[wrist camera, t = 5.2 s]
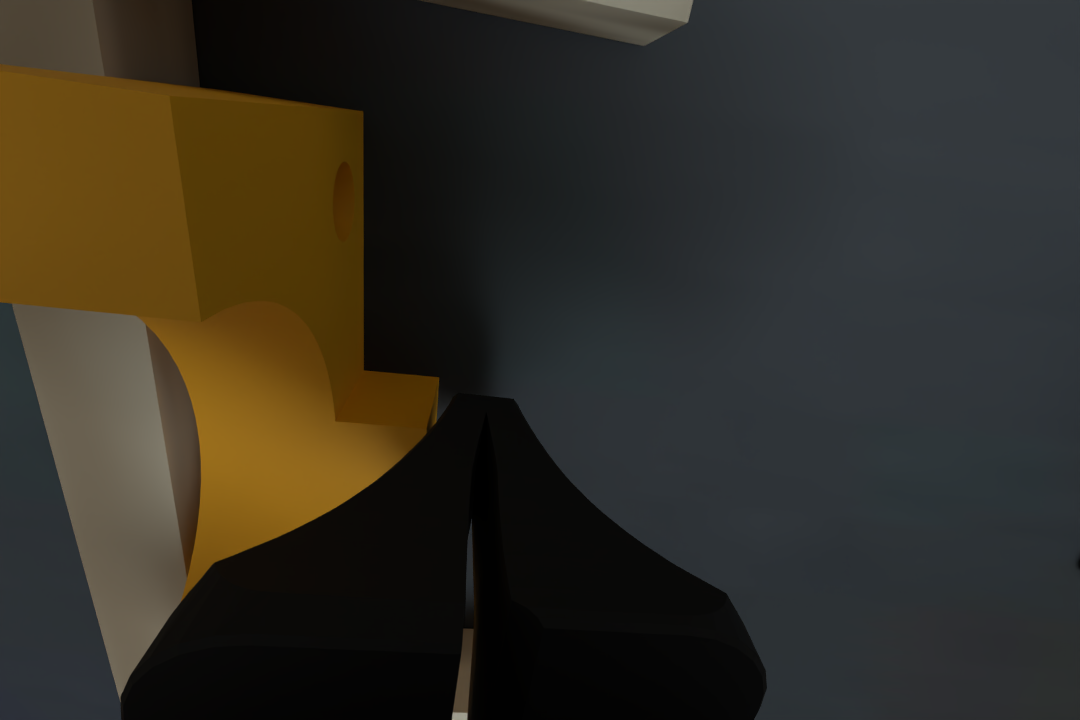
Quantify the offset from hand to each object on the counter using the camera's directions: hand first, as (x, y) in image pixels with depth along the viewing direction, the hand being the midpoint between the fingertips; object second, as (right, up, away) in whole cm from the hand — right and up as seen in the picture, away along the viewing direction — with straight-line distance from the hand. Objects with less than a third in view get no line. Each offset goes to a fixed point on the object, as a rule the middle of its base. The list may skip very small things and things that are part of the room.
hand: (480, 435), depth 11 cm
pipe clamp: (-3, +1, +1) cm, 4 cm away
